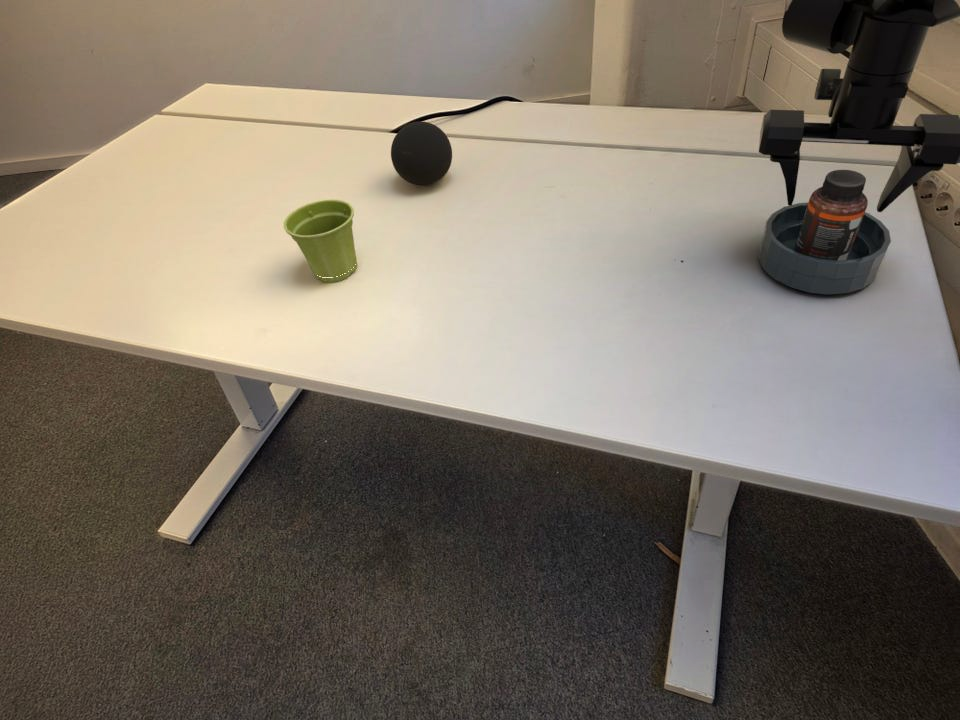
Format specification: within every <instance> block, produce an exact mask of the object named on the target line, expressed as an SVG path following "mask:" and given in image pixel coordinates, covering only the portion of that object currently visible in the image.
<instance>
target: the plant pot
mask: <svg viewBox="0 0 960 720" xmlns="http://www.w3.org/2000/svg"><path fill="white" fill-rule="evenodd" d="M354 216H355V210H354V207H353V206H352V204H351V203H349V202H347V201H345V200H341V199H322V200H317V201H312V202H310V203H307V204H304V205H302V206H300V207H298V208H296V209H295V210H293V211H292V212H291V213H289V214H288V215H287V216H286V218H285V219H284V221H283V229H284V230H285V233H286V234H287V235H289V236H290V237H291V238H292V240H293V241H294V242H295V243H296V244H297V246H298V248H299V249H300V251H301V253H302V254H303V256H304V258H305V260H306V261H307V263H308V266H309V267H310V269H311V270H312V273H313V274H314V273H315V274H316V275H315V274H314V276H315V278H316V279H317V280H322V281H324V282H325V283H335V282H339V281H343V280H345V279H348V277H349V276H350V275H351V274H352V273H353V272H356V270H357V268H358V262H357V254H356V247H355V238H354V231H353V221H354V220H353V218H354ZM355 264H356V265H355ZM353 267H354V268H353ZM351 269H352V270H351ZM348 271H349V272H348ZM344 273H346V274H344ZM342 274H343V275H342ZM317 275H318V276H317ZM340 275H341V276H340ZM319 276H321V277H319ZM336 276H338V277H336ZM322 277H333V278H322Z"/></svg>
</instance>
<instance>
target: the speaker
mask: <svg viewBox="0 0 960 720" xmlns="http://www.w3.org/2000/svg"><path fill="white" fill-rule="evenodd" d="M390 159H391V162H392V166H393V168H394V170H395V172H396V173H397V175H399V177H400V178H401V179H403V181H405V182H406V183H409V184H411V185H413V186H418V187H427V186H432V185H434V184H436V183H438V182H440V181H441V180H442V179H443V178H444V177H445V176H446V174H447V173H448V172H449V170H450V168H451V166H452V161H453V148H452V145H451V142H450V140H449V137H448V135H447V134H446V133H445V131H443V129H442V128H440V127H439V126H438V125H436V124H434V123H431V122H429V121H421V120H419V121H414V122H410V123H407V124H406V125H404V126H403V127H402V128H400V130H398V132H397V133H396V134H395V136H394V138H393V140H392V143H391V147H390Z"/></svg>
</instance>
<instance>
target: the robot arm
mask: <svg viewBox="0 0 960 720" xmlns="http://www.w3.org/2000/svg"><path fill="white" fill-rule="evenodd" d="M787 7H788V8H787V10H785V11H784V13H783V16H782V23H781V30H782V35H783V37H784V39H785V40H786V41H788V42H790V43H794V44H798V45H801V46H804V47H807V48H811V49H815V50H819V51H822V52H825V53H829V54H832V55H839V54H841V53H844V52H845V51H846V50H848V49H849V48H850V47H851V46H852V47H851V50H850V55H849V58H848V61H847V64H846V68H845V71H844V74H843V78H841V76H842V75H841V74H842V69H841V68H821V69H820V73H819V76H818V79H817V83H816V87H815V91H814V97H813V98H814V100H815V101H830V105H829V108H828V111H827V115H828V118H830V122H805V110H799V109H798V110H797V109H770V110H769V111H767V112H766V113H764V115H763V118H762V123H761V127H760V132H759V144H758V153H760V154H761V155H764V156H769V161H770V162H772V163H777V164H779V166H780V170H781V172H782V175H783V178H784V183H785V192H786V199H787V206H791V205H793V204H794V203H793V202H794V199H795V197H796V189H797V184H798V176H799V169H800V162H801V146H802V142H803V143H804V142H805V143H806V142H807V143H824V144H825V143H826V144H828V143H829V144H850V145H868V146H869V145H871V146H872V145H873V146H893V147H894V146H895V147H901V148H900V149H901V150H900V153H899V156H898V159H897V161H896V163H895V166H894V168H893V170H892V171H891V173H890V176H889V178H888V180H887V182H886V183H885V185H884V188H883V190H882V192H881V193H880V196H879V199H878V202H877V206H876V211H877V213H883V211H884V210H886V209H887V208H888V207H889V206H890V205H891V204H893V202H894V201H896V199H898V197H900V196H901V195H902V194H903V193H904V192H906V190H907V189H909V188H910V187H911V186H913V185H914V184H915V183H916V182H918V181H920V180H921V179H922V178H923V177H925V176H926V175H927V174H929V173H930V172H940V171H941V170H942V169H943V168H944V165H958V164H960V116H959V115H958V114H939V113H937V114H934V113H919V114H918V116H916V118H914V122H913V124H912V125H895V122H896V118H897V116H898V113H899V110H900V108H901V105H902V102H903V99H905V98H906V96H907V93H908V90H909V84H910V80H911V78H912V75H913V73H914V70H915V67H916V64H917V62H918V59H919V56H920V53H921V51H922V48H923V45H924V43H925V40H926V37H927V35H928V32H929V30H930V28H934V27H936V26H939V25H942V24H944V23H948V22H951V21H953V20H955V19H958V18H960V5H959V3H958V2H957V1H956V0H791V1H790V3H789V4H788V6H787Z"/></svg>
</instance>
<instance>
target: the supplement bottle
mask: <svg viewBox="0 0 960 720" xmlns="http://www.w3.org/2000/svg"><path fill="white" fill-rule="evenodd" d="M866 182H867V179H866V176H865V175H864V174H862V173H861V172H858V171H855V170H852V169H835V170H831V171H829V172H828V173H827V174H825V178H824V181H823V182H822V186H821V187H818V188H816V189H815V190H814V191H813V192H812V193H811V195H810V196H809V199H808V205H807V209H806V212H805V216H804V219H803V222H802V226H801V229H800V233H799V236H798V240H797V243H796V246H795V250H794V251H795V252H797V253H800V254H802V255H806V256H810V257H814V258H817V259H825V260H836V261H841V260H848V257H849V254H850V251H851V249H852V246H853V244H854V241H855V238H856V235H857V233H858V230H859V227H860V225H861V222H862V219H863V217H864V214H865V212H867V208H868V205H869V204H868V202H869V200H868V198H867V196H866V194H865V193H864V192H863V191H864V189H865V186H866Z"/></svg>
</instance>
